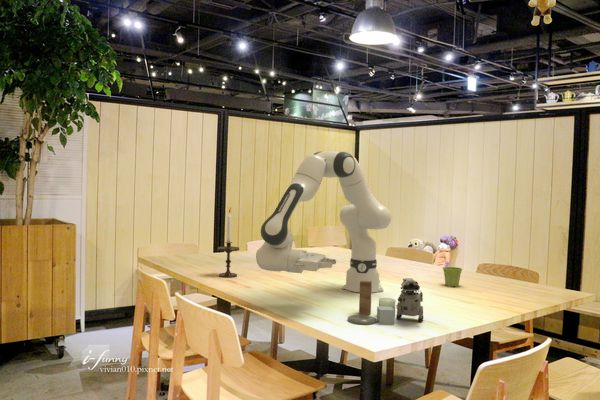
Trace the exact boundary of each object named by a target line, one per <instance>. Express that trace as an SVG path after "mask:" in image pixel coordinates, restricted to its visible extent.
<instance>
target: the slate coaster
mask: <svg viewBox="0 0 600 400" xmlns="http://www.w3.org/2000/svg"><path fill="white" fill-rule="evenodd" d="M347 321H348V322H349V323H351V324H354V325H361V326H369V325H375V324H377V322H378V321H377V317H374V316H372V315H361V314H354V315H349V316H347Z"/></svg>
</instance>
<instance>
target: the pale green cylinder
mask: <svg viewBox="0 0 600 400" xmlns="http://www.w3.org/2000/svg"><path fill="white" fill-rule="evenodd" d="M378 306H382V307H392V308H393V309H394V310H395V311H396V299H394V298H391V297H380V298H379V299H378ZM394 318H396V313H395V314H394Z"/></svg>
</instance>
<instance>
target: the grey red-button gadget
mask: <svg viewBox="0 0 600 400" xmlns="http://www.w3.org/2000/svg"><path fill="white" fill-rule="evenodd" d="M400 285H401V286H400V295H399V296H398V298H397V304H395V309H396V314H395V319H396V320H400V319H401V318H402V317H403V316H406V317H418V318H417V322H418V323H423V321H424V307H423V305H421V303H422V302H424V301H423V299H424V297H423V292H422V291H420V288H421V286H420V284H419V282H418V281H417V280H414V278H412V277H411V278H410V277H407V278H402V283H401V284H400Z"/></svg>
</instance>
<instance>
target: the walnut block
mask: <svg viewBox="0 0 600 400" xmlns="http://www.w3.org/2000/svg"><path fill="white" fill-rule="evenodd" d="M371 291H372V281H369V280H361V281H360V292H359V299H358V300H359V307H358V315H366V316H371V313H372V293H371Z"/></svg>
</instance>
